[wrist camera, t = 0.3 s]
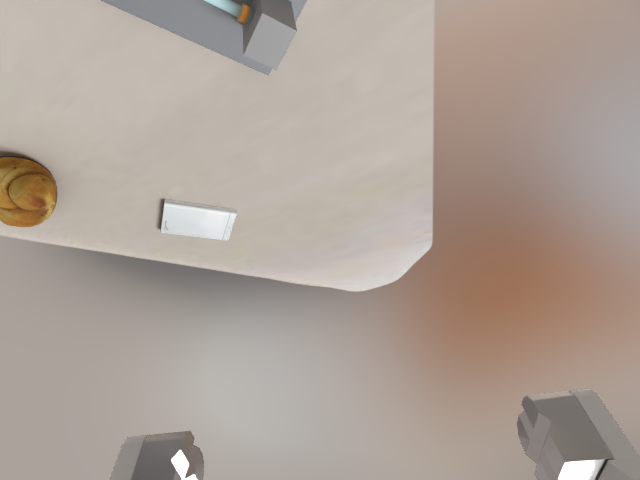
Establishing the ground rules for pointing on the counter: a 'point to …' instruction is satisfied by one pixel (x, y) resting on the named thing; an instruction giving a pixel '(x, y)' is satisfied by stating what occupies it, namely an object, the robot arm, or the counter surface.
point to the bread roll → (25, 192)
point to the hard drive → (197, 220)
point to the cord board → (226, 25)
